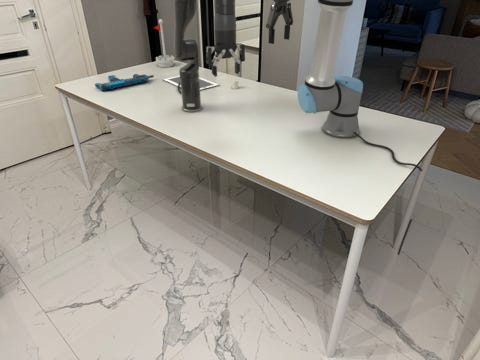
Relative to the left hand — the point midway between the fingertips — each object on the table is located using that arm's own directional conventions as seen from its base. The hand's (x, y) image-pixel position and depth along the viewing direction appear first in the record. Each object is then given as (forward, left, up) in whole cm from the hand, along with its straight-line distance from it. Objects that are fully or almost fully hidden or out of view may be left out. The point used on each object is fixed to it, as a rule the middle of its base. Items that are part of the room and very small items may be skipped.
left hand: (226, 74), depth 126 cm
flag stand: (-130, +9, -28) cm, 134 cm away
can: (-63, +32, -28) cm, 76 cm away
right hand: (-34, +43, +2) cm, 54 cm away
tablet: (-83, +11, -28) cm, 89 cm away
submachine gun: (-101, -26, -28) cm, 108 cm away
